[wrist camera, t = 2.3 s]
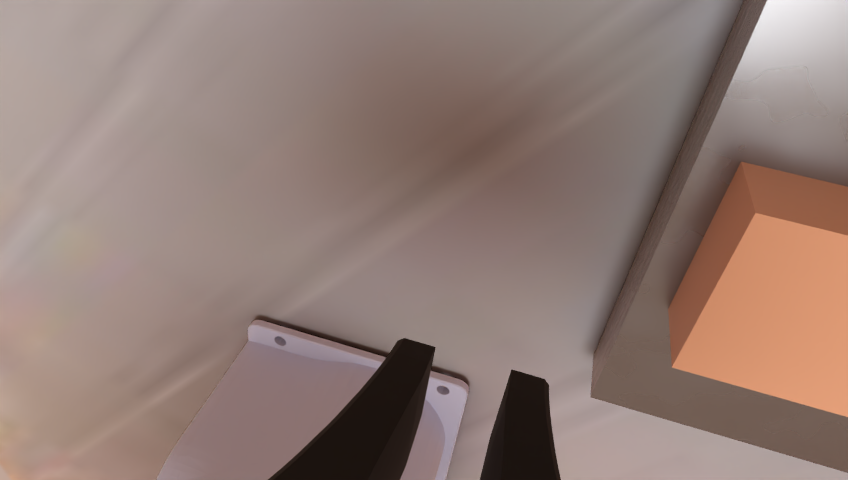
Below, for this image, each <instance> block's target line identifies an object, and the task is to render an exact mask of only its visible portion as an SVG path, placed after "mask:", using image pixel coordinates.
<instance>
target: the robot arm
mask: <svg viewBox="0 0 848 480" xmlns="http://www.w3.org/2000/svg"><path fill="white" fill-rule="evenodd" d="M247 331H248V341H247V343H246V344H245V346H244V347H243V349H242V350H241V351H240V353H239V354H238V356H237V357H236V359H235V360H234V361H233V363H232V364H231V366H230V367H229V369H228V370H227V371H226V373H225V374H224V376H223V377H222V379H221V380H220V381H219V383H218V384H217V386H216V387H215V389H214V390H213V391H212V393H211V394H210V396H209V397H208V399H207V400H206V401H205V403H204V404H203V406H202V407H201V408H200V410H199V411H198V413H197V414H196V416H195V417H194V418H193V420H192V421H191V423H190V424H189V426H188V427H187V428H186V430H185V431H184V433H183V434H182V436H181V437H180V438H179V440H178V441H177V443H176V444H175V446H174V447H173V449H172V451H171V452H170V454H169V456H168V457H167V459H166V461H165V463H164V465H163V466H162V468H161V471H160V473H159V475H158V477H157V479H156V480H446V477H447V473H448V469H449V465H450V461H451V458H452V454H453V450H454V446H455V442H456V439H457V435H458V431H459V427H460V423H461V420H462V416H463V412H464V408H465V405H466V401H467V397H468V393H469V387H468V385H467V384H466V383H465V382H464V381H462V380H460V379H457V378H454V377H450V376H447V375H444V374H440V373H437V372H433V371H431V367H432V362H433V357H434V352H435V347H433V346H430V345H426V344H423V343H419V342H416V341H412V340H409V339H406V338H403V339H401V340H398V341H397V343H396V344H395V346H394V347H393V349H392V350H391V352H390V353H389V355H388V356H387V357H383V356H380V355H376V354H373V353H370V352H366V351H363V350H360V349H356V348H353V347H350V346H346V345H343V344H340V343H336V342H333V341H330V340H326V339H323V338H319V337H316V336H313V335H309V334H306V333H303V332H299V331H296V330H293V329H289V328H286V327H283V326H279V325H276V324H273V323H269V322H266V321H262V320H254V321H253V322H252V323H251V324H250V325H249V327H248V330H247ZM281 337H282V338H281ZM283 338H284V339H283ZM443 386H445V387H443ZM480 480H561V479H560V474H559V469H558V464H557V459H556V453H555V447H554V440H553V433H552V426H551V417H550V406H549V385H548V383H547V382H546V380H545V379H542V378H539V377H535V376H532V375H529V374H525V373H522V372H518V371H515V370H511V373H510V376H509V380H508V383H507V386H506V389H505V392H504V395H503V399H502V402H501V405H500V408H499V411H498V414H497V418H496V421H495V424H494V427H493V430H492V433H491V437H490V440H489V445H488V449H487V453H486V457H485V461H484V465H483V469H482V474H481V478H480Z"/></svg>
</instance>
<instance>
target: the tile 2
mask: <svg viewBox="0 0 848 480" xmlns="http://www.w3.org/2000/svg"><path fill="white" fill-rule="evenodd" d="M668 314H669V330H670V346H671V363H672V368H676V369H679V370H683V371H686V372H690V373H693V374H697V375H700V376H704V377H707V378H711V379H715V380H718V381H722V382H725V383H729V384H732V385H736V386H739V387H743V388H746V389H750V390H754V391H757V392H761V393H764V394H768V395H771V396H775V397H778V398H782V399H785V400H789V401H792V402H796V403H800V404H803V405H807V406H810V407H814V408H817V409H821V410H824V411H828V412H831V413H835V414H838V415H842V416H846V417H848V187H847V186H843V185H838V184H834V183H830V182H826V181H821V180H817V179H813V178H809V177H804V176H800V175H796V174H792V173H788V172H783V171H779V170H775V169H771V168H766V167H762V166H758V165H754V164H749V163H745V162H741V163H740V165H739V167H738V169H737V171H736V173H735V175H734V177H733V179H732V181H731V183H730V185H729V187H728V189H727V191H726V193H725V195H724V197H723V199H722V201H721V203H720V205H719V207H718V209H717V211H716V213H715V215H714V217H713V219H712V221H711V223H710V225H709V227H708V229H707V231H706V233H705V235H704V237H703V239H702V242H701V244H700V246H699V248H698V250H697V252H696V254H695V256H694V258H693V260H692V262H691V264H690V266H689V268H688V270H687V272H686V274H685V276H684V278H683V280H682V282H681V284H680V286H679V288H678V290H677V292H676V294H675V296H674V298H673V300H672V302H671V304H670V306H669V308H668Z"/></svg>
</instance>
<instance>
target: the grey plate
mask: <svg viewBox="0 0 848 480" xmlns="http://www.w3.org/2000/svg"><path fill="white" fill-rule="evenodd" d="M741 162H745V163H749V164H754V165H758V166H762V167H766V168H771V169H775V170H779V171H783V172H788V173H792V174H796V175H800V176H804V177H809V178H813V179H817V180H821V181H826V182H830V183H834V184H838V185H843V186H847V187H848V0H744V2H743V4H742V7H741V9H740V12H739V14H738V16H737V19H736V21H735V23H734V26H733V28H732V30H731V33H730V35H729V37H728V40H727V42H726V45H725V47H724V49H723V52H722V54H721V56H720V59H719V61H718V63H717V66H716V68H715V70H714V73H713V75H712V78H711V80H710V82H709V85H708V87H707V89H706V92H705V94H704V96H703V99H702V101H701V103H700V106H699V108H698V111H697V113H696V115H695V118H694V120H693V122H692V125H691V127H690V129H689V132H688V134H687V137H686V139H685V141H684V144H683V146H682V148H681V151H680V153H679V155H678V158H677V160H676V162H675V165H674V167H673V170H672V172H671V174H670V177H669V179H668V181H667V184H666V186H665V188H664V191H663V193H662V195H661V198H660V200H659V203H658V205H657V207H656V210H655V212H654V214H653V217H652V219H651V221H650V224H649V226H648V228H647V231H646V233H645V236H644V238H643V240H642V243H641V245H640V247H639V250H638V252H637V254H636V257H635V259H634V262H633V264H632V266H631V269H630V271H629V273H628V276H627V278H626V280H625V283H624V285H623V287H622V290H621V292H620V295H619V297H618V299H617V302H616V304H615V306H614V309H613V311H612V313H611V316H610V318H609V320H608V323H607V325H606V328H605V330H604V332H603V335H602V337H601V339H600V342H599V344H598V346H597V349H596V351H595V353H594V357H593V371H592V384H591V397H592V398H595V399H599V400H602V401H606V402H609V403H612V404H616V405H619V406H623V407H626V408H629V409H633V410H636V411H640V412H643V413H646V414H650V415H653V416H657V417H660V418H663V419H667V420H670V421H674V422H677V423H680V424H684V425H687V426H691V427H694V428H697V429H701V430H704V431H708V432H711V433H714V434H718V435H721V436H725V437H728V438H732V439H735V440H738V441H742V442H745V443H749V444H752V445H755V446H759V447H762V448H766V449H769V450H772V451H776V452H779V453H783V454H786V455H789V456H793V457H796V458H800V459H803V460H806V461H810V462H813V463H817V464H820V465H823V466H827V467H830V468H834V469H837V470H840V471H844V472H847V473H848V417H846V416H842V415H838V414H835V413H831V412H828V411H824V410H821V409H817V408H814V407H810V406H807V405H803V404H800V403H796V402H792V401H789V400H785V399H782V398H778V397H775V396H771V395H768V394H764V393H761V392H757V391H754V390H750V389H746V388H743V387H739V386H736V385H732V384H729V383H725V382H722V381H718V380H715V379H711V378H707V377H704V376H700V375H697V374H693V373H690V372H686V371H683V370H679V369H676V368H672V363H671V346H670V330H669V314H668V308H669V306H670V304H671V302H672V300H673V298H674V296H675V294H676V292H677V290H678V288H679V286H680V284H681V282H682V280H683V278H684V276H685V274H686V272H687V270H688V268H689V266H690V264H691V262H692V260H693V258H694V256H695V254H696V252H697V250H698V248H699V246H700V244H701V242H702V239H703V237H704V235H705V233H706V231H707V229H708V227H709V225H710V223H711V221H712V219H713V217H714V215H715V213H716V211H717V209H718V207H719V205H720V203H721V201H722V199H723V197H724V195H725V193H726V191H727V189H728V187H729V185H730V183H731V181H732V179H733V177H734V175H735V173H736V171H737V169H738V167H739V165H740V163H741Z"/></svg>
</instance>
